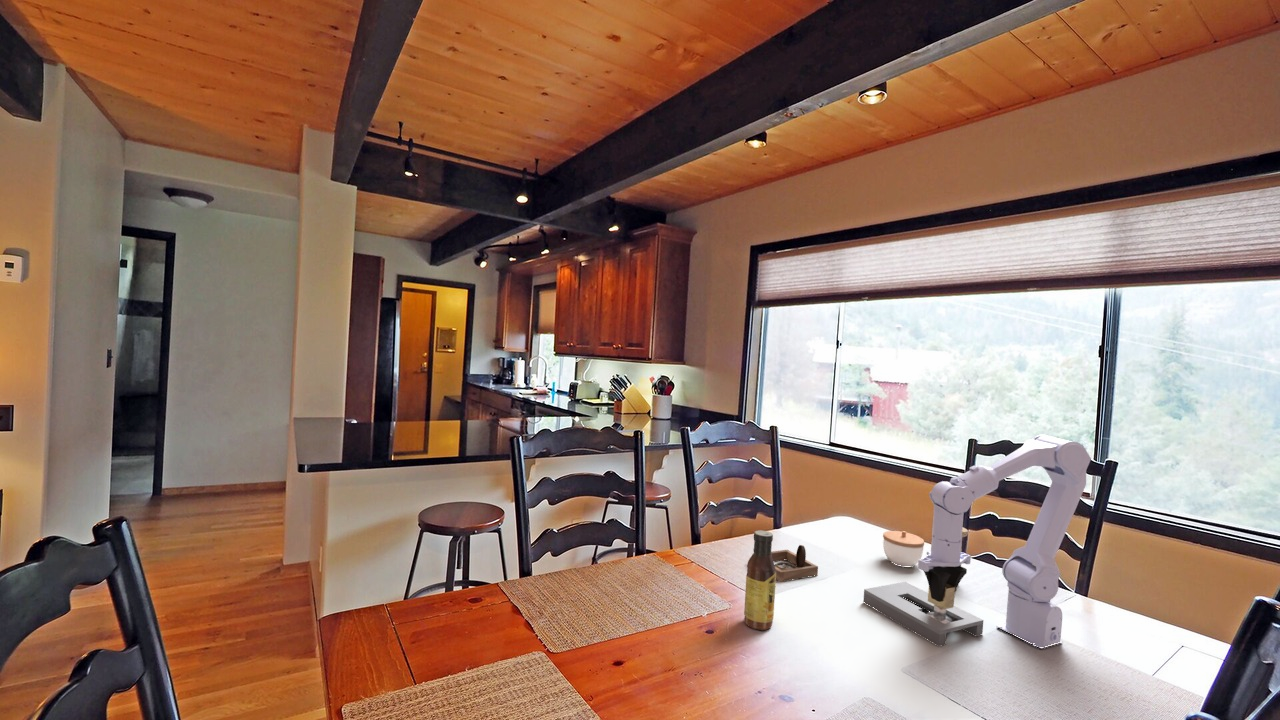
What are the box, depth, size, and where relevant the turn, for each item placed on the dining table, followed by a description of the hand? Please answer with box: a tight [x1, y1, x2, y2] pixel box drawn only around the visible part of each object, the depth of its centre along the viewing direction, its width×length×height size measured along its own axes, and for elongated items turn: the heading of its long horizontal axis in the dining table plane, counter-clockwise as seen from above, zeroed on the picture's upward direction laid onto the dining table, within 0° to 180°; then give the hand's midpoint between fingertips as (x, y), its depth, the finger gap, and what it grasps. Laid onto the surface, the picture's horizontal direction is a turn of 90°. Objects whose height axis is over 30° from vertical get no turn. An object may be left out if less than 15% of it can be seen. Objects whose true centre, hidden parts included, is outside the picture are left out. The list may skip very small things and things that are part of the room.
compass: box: [774, 544, 807, 570], centre depth 148 cm, size 8×8×7 cm
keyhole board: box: [863, 581, 984, 647], centre depth 126 cm, size 20×14×3 cm
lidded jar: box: [882, 530, 925, 567], centre depth 159 cm, size 11×11×9 cm
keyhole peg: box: [926, 583, 956, 624], centre depth 122 cm, size 5×5×8 cm
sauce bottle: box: [743, 529, 777, 631], centre depth 119 cm, size 7×6×20 cm
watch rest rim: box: [751, 549, 819, 583], centre depth 150 cm, size 12×12×2 cm
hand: (941, 598), depth 122 cm, fingers closed on keyhole peg, 3 cm apart
